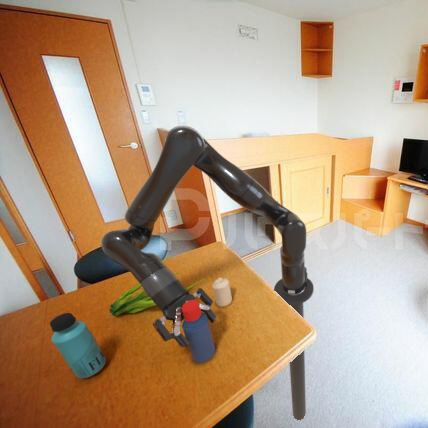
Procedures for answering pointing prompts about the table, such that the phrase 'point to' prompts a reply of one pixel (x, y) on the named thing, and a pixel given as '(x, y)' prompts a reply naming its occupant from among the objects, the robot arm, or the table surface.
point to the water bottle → (199, 339)
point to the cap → (191, 310)
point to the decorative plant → (134, 300)
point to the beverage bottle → (77, 345)
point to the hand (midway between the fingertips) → (201, 333)
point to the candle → (222, 292)
